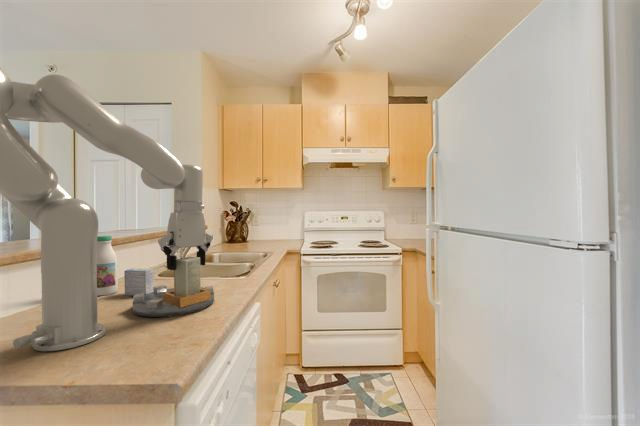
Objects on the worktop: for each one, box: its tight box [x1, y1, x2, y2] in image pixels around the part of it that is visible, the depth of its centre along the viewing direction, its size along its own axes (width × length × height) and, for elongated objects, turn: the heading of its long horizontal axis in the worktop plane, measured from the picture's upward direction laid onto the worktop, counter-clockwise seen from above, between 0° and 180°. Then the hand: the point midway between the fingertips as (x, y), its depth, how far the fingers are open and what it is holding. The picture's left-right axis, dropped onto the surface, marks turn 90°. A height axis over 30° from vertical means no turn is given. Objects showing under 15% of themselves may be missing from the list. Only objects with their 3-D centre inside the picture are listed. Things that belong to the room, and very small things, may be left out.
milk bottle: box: [96, 235, 119, 297], centre depth 104 cm, size 8×8×20 cm
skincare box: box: [173, 256, 201, 297], centre depth 86 cm, size 6×4×12 cm
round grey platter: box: [132, 284, 215, 318], centre depth 90 cm, size 22×22×5 cm
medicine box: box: [123, 267, 155, 296], centre depth 103 cm, size 8×4×9 cm, turn 84°
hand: (186, 267), depth 86 cm, fingers open, 9 cm apart
